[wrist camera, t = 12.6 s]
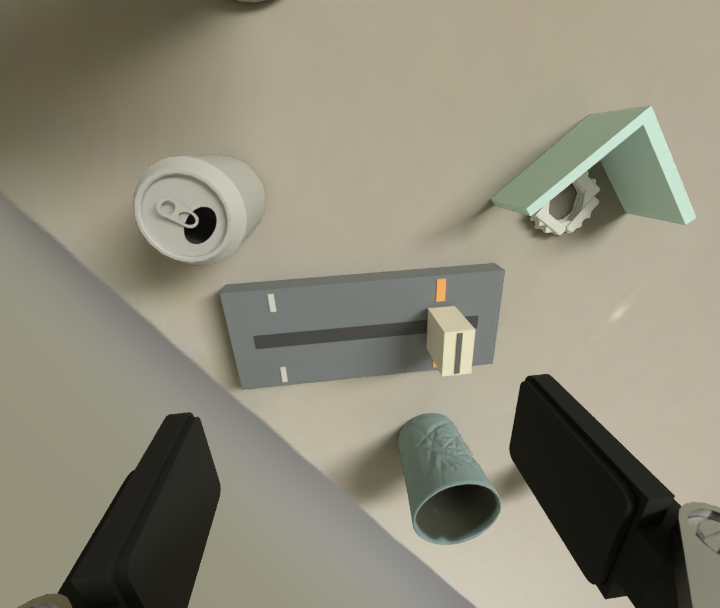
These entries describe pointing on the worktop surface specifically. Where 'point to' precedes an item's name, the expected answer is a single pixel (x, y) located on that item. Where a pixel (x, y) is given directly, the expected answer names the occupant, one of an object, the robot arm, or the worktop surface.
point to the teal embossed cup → (444, 482)
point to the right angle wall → (621, 163)
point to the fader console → (354, 322)
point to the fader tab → (450, 340)
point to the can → (198, 207)
